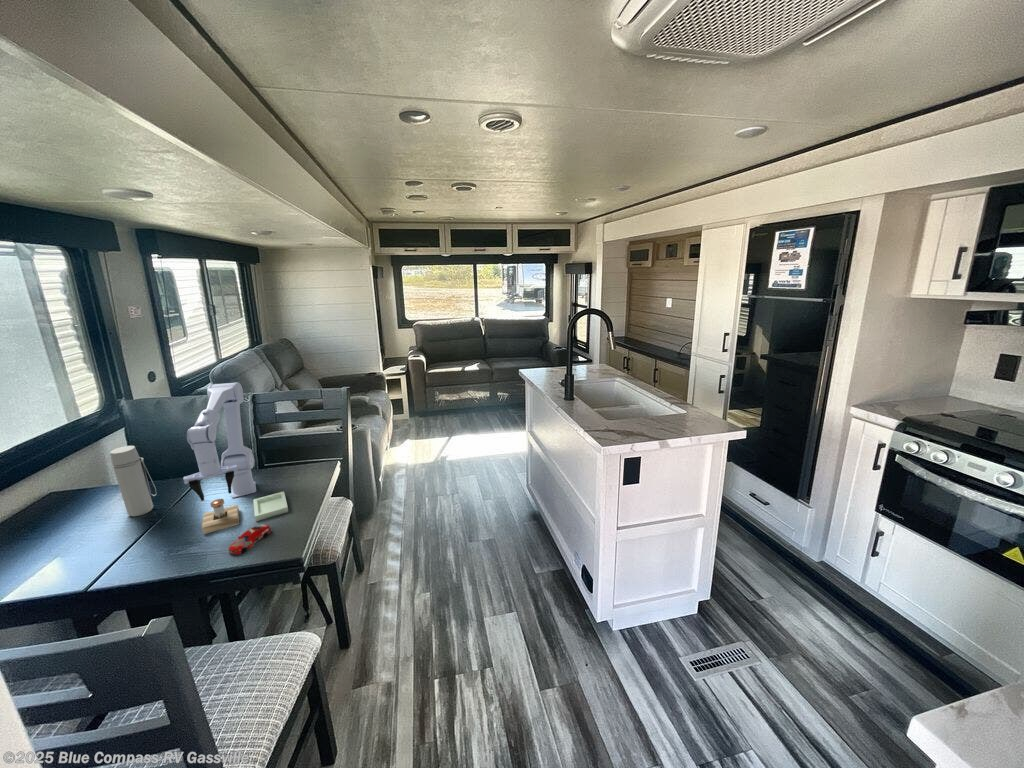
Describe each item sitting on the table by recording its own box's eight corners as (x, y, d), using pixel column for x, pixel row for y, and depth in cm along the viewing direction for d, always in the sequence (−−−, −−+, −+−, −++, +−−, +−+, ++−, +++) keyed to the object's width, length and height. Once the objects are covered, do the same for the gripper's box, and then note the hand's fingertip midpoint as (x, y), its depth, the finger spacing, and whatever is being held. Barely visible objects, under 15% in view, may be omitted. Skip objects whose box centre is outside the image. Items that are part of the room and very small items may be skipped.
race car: (237, 558, 124) (234, 547, 123) (225, 554, 126) (222, 543, 125) (275, 532, 136) (272, 522, 135) (263, 529, 138) (260, 519, 137)
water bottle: (127, 520, 144) (107, 456, 137) (128, 511, 150) (108, 449, 143) (161, 510, 150) (143, 448, 143) (160, 501, 155) (143, 441, 149)
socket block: (205, 519, 144) (203, 513, 143) (238, 510, 149) (237, 504, 148) (203, 534, 136) (201, 527, 135) (239, 524, 141) (237, 517, 140)
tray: (254, 504, 153) (253, 499, 152) (284, 495, 158) (283, 491, 158) (255, 521, 142) (254, 516, 142) (288, 511, 148) (287, 506, 147)
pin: (215, 521, 143) (210, 501, 141) (228, 517, 145) (223, 497, 143) (215, 526, 140) (210, 506, 138) (228, 522, 142) (223, 502, 140)
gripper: (179, 470, 129) (189, 508, 132) (233, 458, 136) (242, 494, 140) (181, 462, 134) (190, 498, 138) (233, 451, 142) (241, 485, 146)
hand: (216, 495), depth 139 cm, fingers open, 7 cm apart
